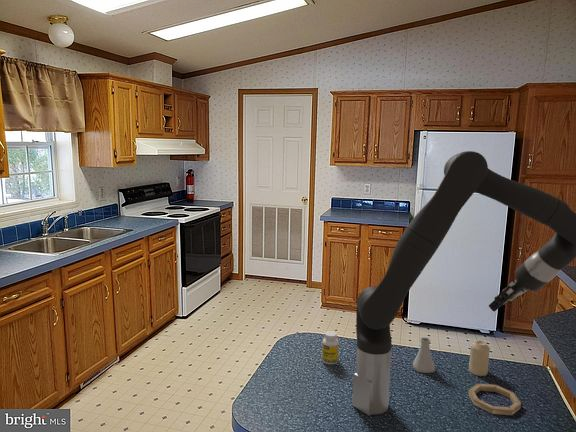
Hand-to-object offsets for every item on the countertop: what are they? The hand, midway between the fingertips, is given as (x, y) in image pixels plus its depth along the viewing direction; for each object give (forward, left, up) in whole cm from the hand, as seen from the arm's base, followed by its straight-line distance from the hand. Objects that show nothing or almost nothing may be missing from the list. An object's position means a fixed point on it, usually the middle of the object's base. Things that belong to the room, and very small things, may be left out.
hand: (498, 304), depth 123 cm
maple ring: (-7, -4, -26) cm, 27 cm away
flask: (-7, +19, -26) cm, 33 cm away
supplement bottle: (-28, +41, -26) cm, 56 cm away
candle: (+5, +7, -26) cm, 28 cm away
